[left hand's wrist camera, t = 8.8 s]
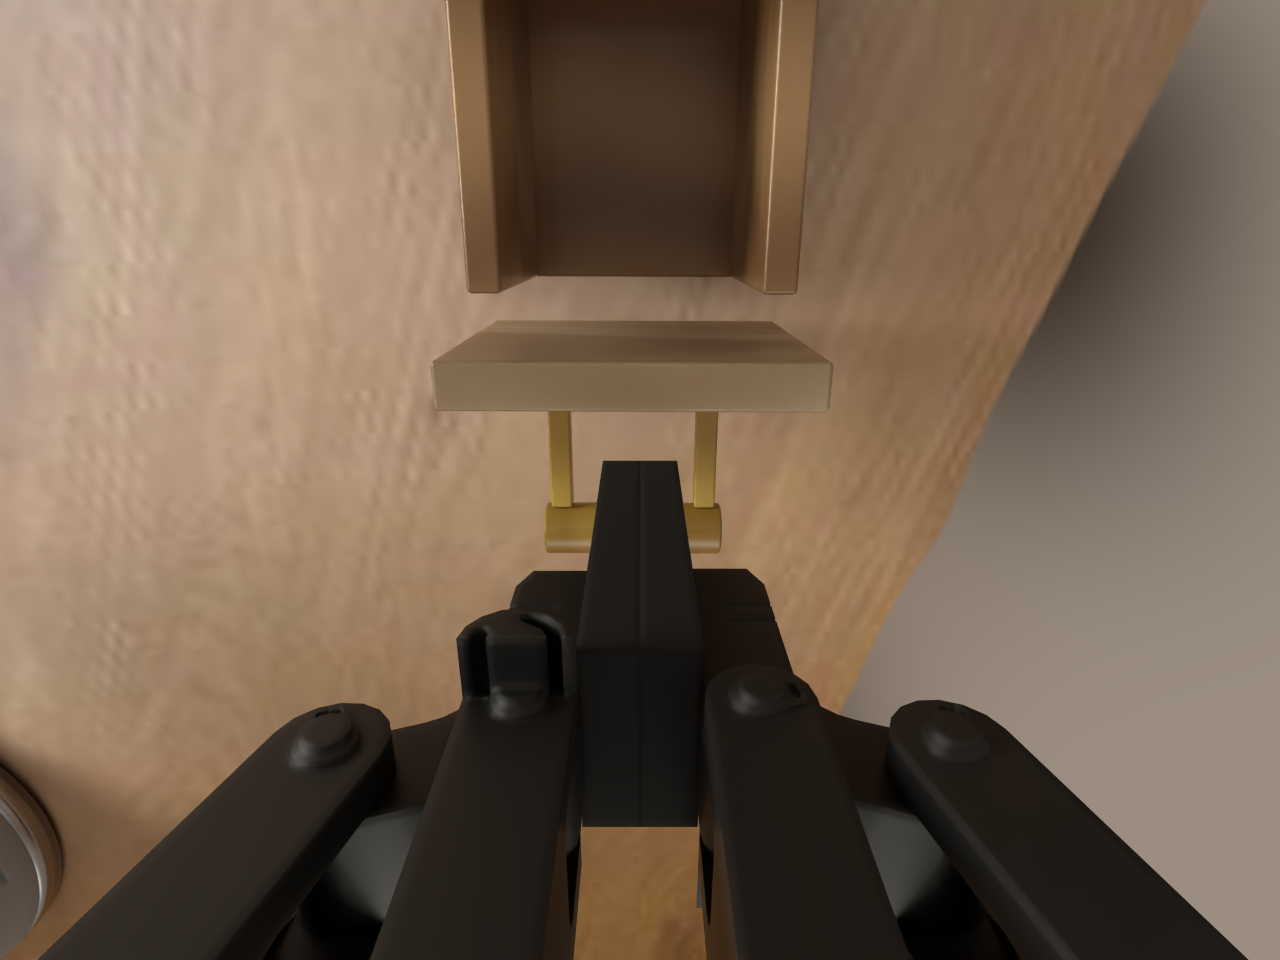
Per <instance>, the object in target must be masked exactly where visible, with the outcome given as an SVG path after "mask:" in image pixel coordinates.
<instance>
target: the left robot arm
mask: <svg viewBox="0 0 1280 960" xmlns="http://www.w3.org/2000/svg"><path fill="white" fill-rule="evenodd" d="M456 640H457V649H458V658H459V668H460V677H461V686H462V695H463V700H462V702H461V705H460V708H459V710H457V711H455V712H453V713H451V714H449V715H447V716H445V717H443V718H439V719H436V720H433V721H429V722H426V723H422V724H418V725H413V726H409V727H404V728H400V729H395V730H391V728H390V722H389V720H388V719H387V718H386V716H385V715H384V714H383V713H382V712H381V711H380V710H379V709H376V708H373V707H371V706H368V705H365V704H355V703H339V704H335V705H330V706H325V707H320V708H317V709H314V710H312V711H310V712H307V713H305V714H303V715H301V716H298V717H296V718H294V719H293V720H291V721H290V722H288V723H287V724H286V725H284V726H283V727H282V728H280V729H279V730H278V731H276V732H275V733H274V734H273V735H272V736H271V737H270V738H269V739H268V740H266V741H265V742H264V743H263V744H262V745H261V746H260V747H259V748H258V749H257V750H256V751H255V752H254V753H253V754H252V755H251V756H250V757H249V758H248V759H247V760H246V761H245V762H243V763H242V764H241V765H240V766H239V767H238V768H237V769H236V770H235V771H234V772H233V773H232V774H231V775H230V776H229V777H228V778H227V779H226V780H225V781H224V782H223V783H222V784H221V785H219V786H218V787H217V788H216V789H215V790H214V791H213V792H212V793H211V794H210V795H209V796H208V797H207V798H206V799H205V800H204V801H203V802H202V803H201V804H200V805H199V806H198V807H197V808H195V809H194V810H193V811H192V812H191V813H190V814H189V815H188V816H187V817H186V818H185V819H184V820H183V821H182V822H181V823H180V824H179V825H178V826H177V827H176V828H175V829H174V830H173V831H171V832H170V833H169V834H168V835H167V836H166V837H165V838H164V839H163V840H162V841H161V842H160V843H159V844H158V845H157V846H156V847H155V848H154V849H153V850H152V851H151V852H150V853H148V854H147V855H146V856H145V857H144V858H143V859H142V860H141V861H140V862H139V863H138V864H137V865H136V866H135V867H134V868H133V869H132V870H131V871H130V872H129V873H128V874H127V875H126V876H124V877H123V878H122V879H121V880H120V881H119V882H118V883H117V884H116V885H115V886H114V887H113V888H112V889H111V890H110V891H109V892H108V893H107V894H106V895H105V896H104V897H103V898H102V899H100V900H99V901H98V902H97V903H96V904H95V905H94V906H93V907H92V908H91V909H90V910H89V911H88V912H87V913H86V914H85V915H84V916H83V917H82V918H81V919H80V920H79V921H78V922H76V923H75V924H74V925H73V926H72V927H71V928H70V929H69V930H68V931H67V932H66V933H65V934H64V935H63V936H62V937H61V938H60V939H59V940H58V941H57V942H56V943H55V944H53V945H52V946H51V947H50V948H49V949H48V950H47V951H46V952H45V953H44V954H43V955H42V956H41V957H40V958H39V959H38V960H573V957H574V945H575V934H576V922H577V911H578V899H579V887H580V876H581V864H582V863H581V838H580V831H581V820H582V826H583V827H697V826H698V817H699V827H700V838H699V863H698V888H697V908H702V910H703V921H704V933H705V944H706V956H707V960H1248V959H1247V958H1246V957H1245V956H1244V955H1243V954H1242V953H1241V952H1240V951H1239V950H1238V949H1236V948H1235V947H1234V946H1233V945H1232V944H1231V943H1230V942H1229V941H1228V940H1227V939H1226V938H1225V937H1224V936H1223V935H1222V934H1221V933H1220V932H1219V931H1218V930H1217V929H1215V928H1214V927H1213V926H1212V925H1211V924H1210V923H1209V922H1208V921H1207V920H1206V919H1205V918H1204V917H1203V916H1202V915H1201V914H1200V913H1199V912H1198V911H1196V910H1195V909H1194V908H1193V907H1192V906H1191V905H1190V904H1189V903H1188V902H1187V901H1186V900H1185V899H1184V898H1183V897H1182V896H1181V895H1180V894H1179V893H1178V892H1177V891H1175V890H1174V889H1173V888H1172V887H1171V886H1170V885H1169V884H1168V883H1167V882H1166V881H1165V880H1164V879H1163V878H1162V877H1161V876H1160V875H1159V874H1158V873H1157V872H1155V871H1154V870H1153V869H1152V868H1151V867H1150V866H1149V865H1148V864H1147V863H1146V862H1145V861H1144V860H1143V859H1142V858H1141V857H1140V856H1139V855H1138V854H1137V853H1136V852H1134V851H1133V850H1132V849H1131V848H1130V847H1129V846H1128V845H1127V844H1126V843H1125V842H1124V841H1123V840H1122V839H1121V838H1120V837H1119V836H1118V835H1117V834H1115V833H1114V832H1113V831H1112V830H1111V829H1110V828H1109V827H1108V826H1107V825H1106V824H1105V823H1104V822H1103V821H1102V820H1101V819H1100V818H1099V817H1098V816H1097V815H1095V814H1094V813H1093V812H1092V811H1091V810H1090V809H1089V808H1088V807H1087V806H1086V805H1085V804H1084V803H1083V802H1082V801H1081V800H1080V799H1079V798H1078V797H1077V796H1076V795H1075V794H1073V793H1072V792H1071V791H1070V790H1069V789H1068V788H1067V787H1066V786H1065V785H1064V784H1063V783H1062V782H1061V781H1060V780H1059V779H1058V778H1057V777H1056V776H1055V775H1053V774H1052V773H1051V772H1050V771H1049V770H1048V769H1047V768H1046V767H1045V766H1044V765H1043V764H1042V763H1041V762H1040V761H1039V760H1038V759H1037V758H1036V757H1034V756H1033V755H1032V754H1031V753H1030V752H1029V751H1028V750H1027V749H1026V748H1025V747H1024V746H1023V745H1022V744H1021V743H1020V742H1019V741H1018V740H1017V739H1016V738H1015V737H1013V736H1012V735H1011V734H1010V733H1009V732H1008V731H1007V730H1006V729H1005V728H1003V727H1002V726H1001V725H999V724H998V723H997V722H995V721H994V720H992V719H991V718H990V717H988V716H987V715H985V714H983V713H980V712H978V711H976V710H973V709H971V708H969V707H967V706H964V705H961V704H956V703H951V702H946V701H941V700H923V701H915V702H912V703H910V704H907V705H904V706H902V707H900V708H899V709H898V711H897V712H896V713H895V714H894V715H893V716H892V717H891V722H890V728H889V727H884V726H880V725H876V724H871V723H867V722H862V721H858V720H854V719H851V718H847V717H844V716H841V715H837V714H835V713H833V712H831V711H829V710H827V709H825V708H823V707H821V706H820V704H819V701H818V699H817V697H816V695H815V694H814V692H813V691H812V689H811V688H810V686H809V685H808V684H807V683H806V682H804V681H803V680H802V679H800V678H799V677H797V676H796V675H795V674H793V671H792V668H791V665H790V662H789V659H788V656H787V653H786V650H785V647H784V644H783V641H782V638H781V635H780V632H779V628H778V625H777V622H776V621H775V616H774V613H773V610H772V607H771V606H770V601H769V598H768V595H767V592H766V589H765V586H764V584H763V583H762V582H761V581H760V580H759V579H757V578H756V577H755V576H754V575H753V574H752V573H751V572H749V571H748V570H747V569H693V568H692V561H691V555H690V548H689V541H688V534H687V527H686V520H685V513H684V506H683V499H682V493H681V486H680V479H679V472H678V465H677V461H603V465H602V472H601V479H600V486H599V493H598V499H597V506H596V513H595V520H594V527H593V534H592V541H591V548H590V555H589V561H588V568H587V571H533V572H532V573H531V574H530V575H529V576H528V577H526V578H525V579H524V580H523V581H522V582H521V583H520V584H519V585H517V586H516V589H515V592H514V595H513V598H512V601H511V604H510V608H509V610H501V611H498V612H495V613H492V614H489V615H485V616H482V617H480V618H479V619H477V620H476V621H474V622H472V623H471V624H469V625H468V626H466V627H465V628H464V630H463V631H462V632H461V633H460V635H459V636H458V637H457V639H456ZM62 870H63V866H62V856H61V851H60V847H59V843H58V840H57V838H56V835H55V832H54V830H53V828H52V826H51V824H50V822H49V820H48V819H47V817H46V816H45V814H44V812H43V811H42V809H41V808H40V807H39V805H38V804H37V803H36V801H35V800H34V799H33V797H32V796H31V795H30V794H29V793H28V792H27V791H26V790H25V789H24V787H23V786H22V785H21V784H20V783H19V782H18V781H16V780H15V779H14V778H13V777H12V776H11V775H10V774H9V773H8V772H6V771H5V770H4V769H3V768H2V767H0V960H1V959H2V958H3V957H4V956H5V955H7V954H8V953H9V952H10V951H11V950H12V949H13V948H14V947H15V946H17V945H18V944H19V943H20V942H21V941H22V940H23V939H24V938H25V937H26V936H27V934H28V933H29V932H30V931H31V930H32V928H33V927H34V926H35V925H36V924H37V922H38V921H39V920H40V919H41V918H42V917H43V915H44V914H45V913H46V912H47V910H48V909H49V908H50V907H51V905H52V904H53V902H54V900H55V898H56V897H57V894H58V891H59V889H60V885H61V880H62Z"/></svg>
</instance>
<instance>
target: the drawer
mask: <svg viewBox="0 0 1280 960" xmlns="http://www.w3.org/2000/svg"><path fill="white" fill-rule="evenodd" d="M445 5H446V18H447V32H448V45H449V58H450V72H451V85H452V98H453V111H454V125H455V138H456V151H457V165H458V178H459V191H460V204H461V218H462V231H463V244H464V258H465V271H466V284H467V290H468V292H470V293H499V292H502V291H504V290H506V289H508V288H511V287H513V286H515V285H518V284H520V283H522V282H524V281H527V280H529V279H531V278H533V277H536V276H635V277H733V278H735V279H737V280H739V281H741V282H743V283H745V284H747V285H749V286H751V287H752V288H754V289H756V290H758V291H760V292H762V293H764V294H795V293H796V292H797V287H798V273H799V260H800V246H801V233H802V220H803V206H804V193H805V180H806V166H807V153H808V140H809V126H810V113H811V100H812V86H813V73H814V60H815V46H816V33H817V20H818V6H819V0H445ZM832 373H833V365H832V363H831V362H829V361H828V360H826V359H825V358H824V357H822V356H821V355H819V354H818V353H816V352H815V351H813V350H812V349H811V348H809V347H808V346H806V345H805V344H803V343H802V342H801V341H799V340H798V339H796V338H795V337H793V336H792V335H790V334H789V333H788V332H786V331H785V330H783V329H782V328H780V327H779V326H778V325H776V324H775V323H773V322H757V321H496V322H494V323H493V324H491V325H489V326H488V327H486V328H485V329H483V330H482V331H480V332H478V333H477V334H475V335H474V336H472V337H470V338H469V339H467V340H466V341H464V342H463V343H461V344H459V345H458V346H456V347H455V348H453V349H451V350H450V351H448V352H447V353H445V354H443V355H442V356H440V357H439V358H437V359H436V360H434V361H432V362H431V374H432V385H433V395H434V406H435V409H436V410H438V411H548V423H549V447H550V472H551V496H552V502H550V503H548V504H547V506H546V510H545V519H544V540H545V548H546V551H547V552H548V553H590V548H591V541H592V534H593V527H594V520H595V513H596V506H597V503H573V500H574V496H573V462H572V428H571V411H606V412H696V413H695V446H694V479H693V503H683V506H684V513H685V520H686V527H687V534H688V541H689V548H690V553H719V551H720V548H721V538H722V519H721V509H720V505H719V504H718V503H714V501H715V476H716V452H717V428H718V412H827V411H828V410H829V405H830V394H831V383H832Z"/></svg>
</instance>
